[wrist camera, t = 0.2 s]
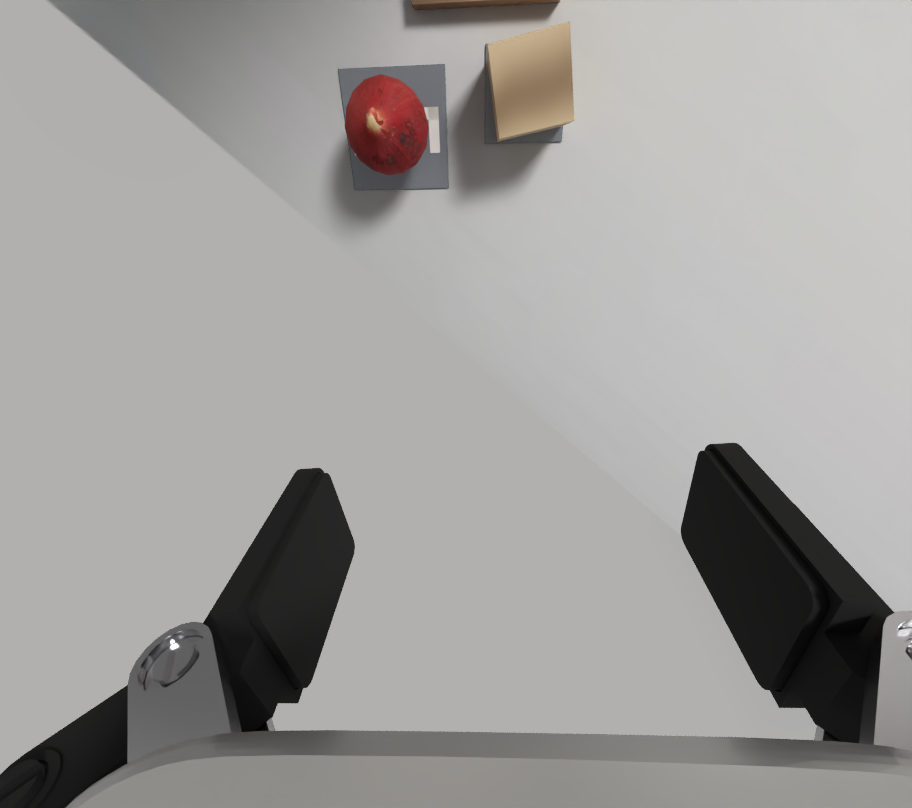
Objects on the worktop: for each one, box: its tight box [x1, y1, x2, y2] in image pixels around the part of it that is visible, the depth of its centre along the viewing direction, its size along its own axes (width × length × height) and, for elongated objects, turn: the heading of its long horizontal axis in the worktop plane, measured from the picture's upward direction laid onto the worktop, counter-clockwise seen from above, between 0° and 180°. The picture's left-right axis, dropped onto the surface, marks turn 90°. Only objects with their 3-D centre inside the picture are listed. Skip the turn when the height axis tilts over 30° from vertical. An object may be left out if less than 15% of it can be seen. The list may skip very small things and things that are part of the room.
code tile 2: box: [485, 44, 563, 144], centre depth 30 cm, size 6×6×1 cm
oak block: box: [487, 22, 574, 142], centre depth 28 cm, size 5×5×5 cm
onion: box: [345, 74, 429, 176], centre depth 28 cm, size 6×6×8 cm
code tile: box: [338, 64, 449, 190], centre depth 32 cm, size 8×8×1 cm
